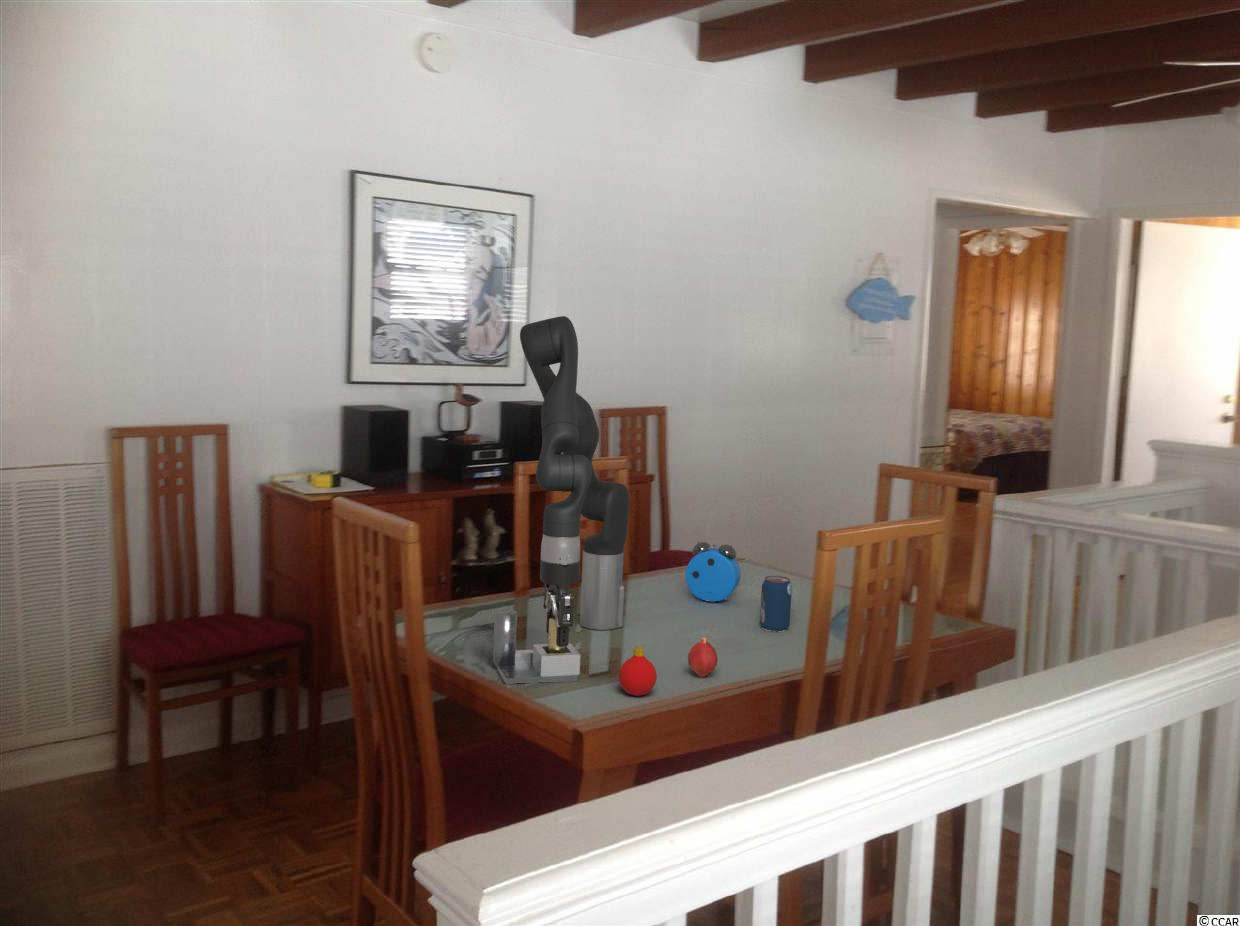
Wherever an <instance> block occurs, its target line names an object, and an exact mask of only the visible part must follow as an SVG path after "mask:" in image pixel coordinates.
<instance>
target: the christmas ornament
mask: <svg viewBox="0 0 1240 926" xmlns="http://www.w3.org/2000/svg"><path fill="white" fill-rule="evenodd" d="M638 644H642V642H636V644H635V648H633V655H632V656H631V657H630V658H628V659H627V660H625V661H624V663H622V665H621V666H620V668H619V671H618V681H619V684H620V686H621V688H622V690H624V691H625V692H626V693H627V694H629V695H632V696H636V697H638V696H644V695H646V694H649V692H651V691H652V690H653V688H654V687H655V685H656V683H657V679H658V677H657V676H658V673H657V670H656V669H657V668H656V667H655V666H654V664H653V662H651V660H650V659H648V658H647V657H646V656H645V648H644V646H645V645H642V647H637V645H638Z"/></svg>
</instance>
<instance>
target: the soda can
mask: <svg viewBox="0 0 1240 926" xmlns="http://www.w3.org/2000/svg"><path fill="white" fill-rule="evenodd" d="M792 591H793V585H792V583H791V579H790V578H789V577H786V576H783V575H782V576H781V575H780V576H779V575H768V576H765V577H764V581H763V583H762V585H761V597H760V609H759V611H760V612H759V625H760V627H761V629H762V628H764V629H767V630H771V631H783V630H786V629H788V628H789V626H790V621H791V608H792V607H791V606H792V595H793V594H792V593H793V592H792ZM764 629H763V630H764ZM786 631H787V630H786Z"/></svg>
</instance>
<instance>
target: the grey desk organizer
mask: <svg viewBox="0 0 1240 926" xmlns="http://www.w3.org/2000/svg"><path fill="white" fill-rule="evenodd" d="M493 621H494V622H493V623H494V624H493V647H492V648H493V649H492V650H493V651H492V654H493V655H492V663H493V664H494V667H495V669H496V671H497V672H498V674H499V675H500V678H501V680H503V682H504V684H505V683H506V684H511V683H515V684H514V685H517V684H516V683H532V682H533V683H532V684H537V683H536V682H552V683H569V682H579V676H580V670H581V669H580V668H581V654H580V652H579V651H578V650H577V649H576V648H575V646H574V645H573V644H572V643H571V642H568V646H566V647H565V650H564V653H552V654H548V643H541V644H539V643H538V644H532V649H520V650H519V649H517V632H518V631H517V626H518V623H517V621H518V612H517V611H516V610H512V609H498V610H495V611H494V620H493ZM506 684H505V685H506Z"/></svg>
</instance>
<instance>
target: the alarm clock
mask: <svg viewBox="0 0 1240 926" xmlns="http://www.w3.org/2000/svg"><path fill="white" fill-rule="evenodd" d="M691 550H692V554H693V555H694V556H693V557H692V558H691V559H690V561H689V562H688V564H687V566H686V569H685V581H686V584H687V587H688V589H689V591H690V592H691V594H692V595H694V596H695V597H696V598H697V599H699V600H701V599H702V600H701V601H703V600H709V601H718V602H721V601H723V600H725V598H727V599H728V597H729V596H730V595H732V594H733V592H735V591H736V589H737V588H738V586H739V585H740V584H739V583H740V581H741V568H740V565H739V563H738V561H737V558H736V557H737V549H736V548H735V547H734V546H733V544H731V545H730V544H729V543H723V544H720V546H719V547H718V545H717V544H712V546H711V544H710V543H709V542H708V541H697V543H695V544H694V545H693V547H692V549H691Z"/></svg>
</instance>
